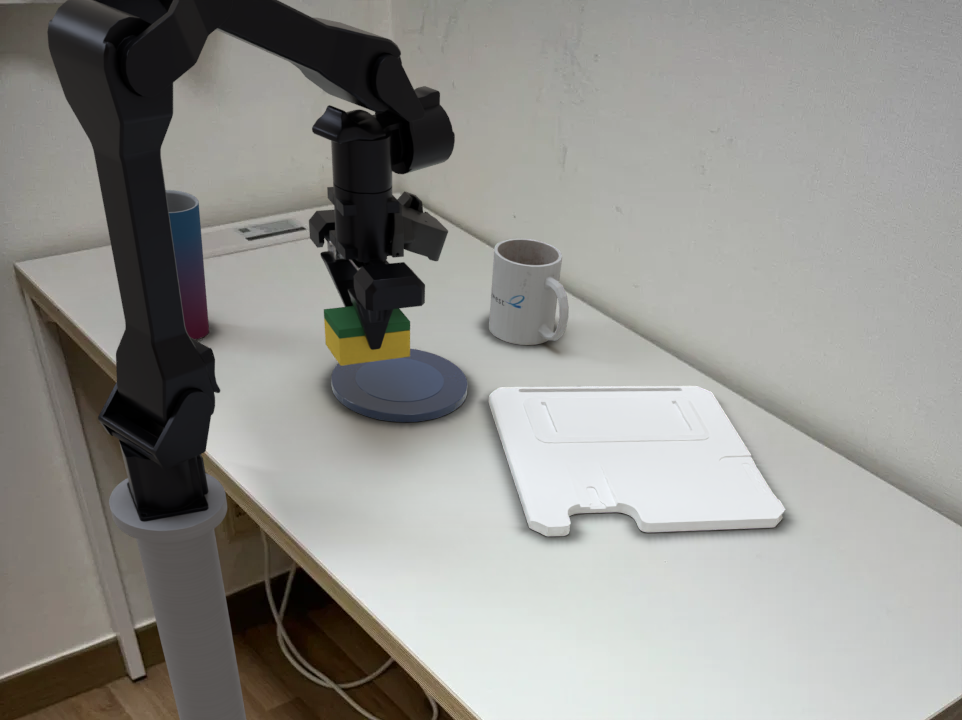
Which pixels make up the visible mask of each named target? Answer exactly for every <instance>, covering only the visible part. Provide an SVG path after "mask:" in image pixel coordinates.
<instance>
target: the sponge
mask: <svg viewBox="0 0 962 720" xmlns="http://www.w3.org/2000/svg"><path fill="white" fill-rule="evenodd" d="M323 321H324V322H323V323H324V340H325V346H326V347H327V349H328V350H329V352H330V353H331V355H332V356H333V357H334V359H335V360H336V361H337V364H338V363H339V364H340V366H342V365H350V364H357V363H365V362H372V361H380V360H387V359H395V358H403V357H410V349H411V320H409V318H408V317H407V315H405V313H404V312H403V311H402V310H401V308H399V309H393V312H392V314H391V317H390V320H389V323H388V326H387V329H386V332H385V336H384V339H383V342H382V345H381V348H380V349H375V350H371V349H370V347H369V344H368V342H367V340H366V337H365V334H364V332H363V329H362V327H361V324H360V321H359V319H358V316H357V313H356V311H355V308H354V306H349V307H345V306H341V307H332V308H331V307H329V308H324V309H323Z"/></svg>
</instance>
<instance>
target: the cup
mask: <svg viewBox="0 0 962 720" xmlns="http://www.w3.org/2000/svg"><path fill="white" fill-rule="evenodd" d="M166 196H167V203H168V210H169V217H170V224H171V231H172V238H173V245H174V252H175V259H176V266H177V273H178V280H179V287H180V294H181V301H182V308H183V316H184V323H185V327H186V331H187V333H188V335H189V336H190V337H191V338H193V339H194V340H200V339H202V338H204V337H206V336H207V335H208V334H209V332H210V324H209V313H208V301H207V299H208V298H207V288H206V275H205V274H206V273H205V262H204V251H203V237H202V226H201V225H202V224H201V213H200V201H199V199H198V198H197V197H196V195H193V194H191V193H188V192H186V191H182V190H176V189H172V190H171V189H166Z"/></svg>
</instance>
